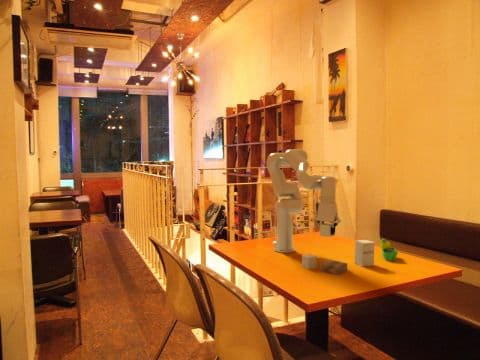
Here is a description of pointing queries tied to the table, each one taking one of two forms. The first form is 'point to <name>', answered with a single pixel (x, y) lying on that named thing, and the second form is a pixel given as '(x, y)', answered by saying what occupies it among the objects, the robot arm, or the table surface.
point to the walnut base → (333, 267)
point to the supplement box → (364, 252)
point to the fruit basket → (388, 250)
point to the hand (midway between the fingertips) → (327, 233)
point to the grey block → (309, 261)
